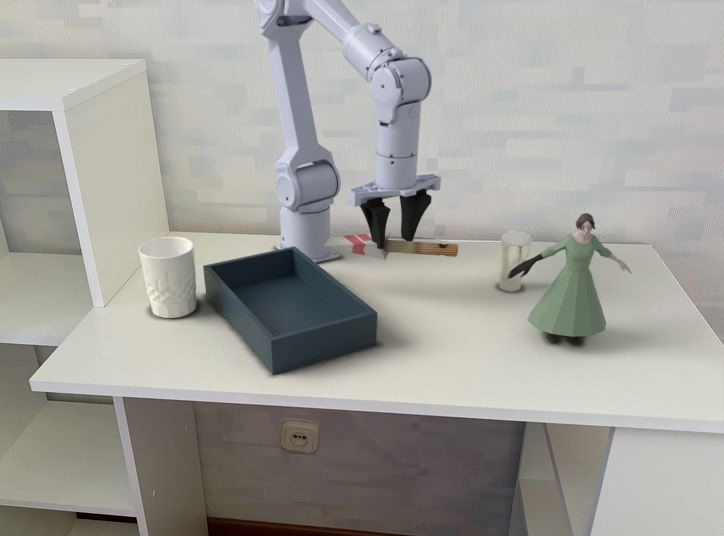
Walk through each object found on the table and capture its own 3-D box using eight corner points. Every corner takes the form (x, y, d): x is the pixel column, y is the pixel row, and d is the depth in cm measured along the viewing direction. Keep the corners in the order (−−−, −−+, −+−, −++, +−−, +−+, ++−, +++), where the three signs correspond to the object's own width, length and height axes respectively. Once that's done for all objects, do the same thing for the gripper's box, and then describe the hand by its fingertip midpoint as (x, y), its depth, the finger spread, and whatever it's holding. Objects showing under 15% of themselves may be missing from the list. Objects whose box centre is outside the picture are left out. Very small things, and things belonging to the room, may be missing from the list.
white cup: (137, 309, 107) (127, 248, 102) (178, 291, 112) (171, 232, 107) (169, 326, 102) (160, 262, 97) (211, 306, 107) (204, 245, 102)
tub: (205, 295, 111) (202, 265, 108) (295, 274, 116) (294, 245, 114) (272, 374, 91) (271, 340, 88) (376, 345, 97) (377, 312, 94)
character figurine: (500, 351, 95) (519, 224, 85) (494, 321, 102) (510, 201, 92) (624, 356, 93) (656, 228, 84) (608, 326, 100) (637, 203, 91)
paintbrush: (329, 227, 109) (459, 236, 102) (331, 242, 111) (459, 253, 104) (321, 238, 106) (454, 248, 99) (323, 254, 108) (454, 266, 101)
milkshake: (518, 298, 108) (527, 236, 103) (489, 286, 111) (496, 227, 106) (535, 289, 110) (545, 228, 105) (506, 278, 114) (514, 219, 109)
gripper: (367, 167, 92) (364, 263, 99) (457, 151, 98) (448, 243, 105) (340, 154, 98) (340, 245, 105) (427, 140, 103) (421, 227, 110)
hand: (392, 243), depth 105 cm, fingers closed on paintbrush, 4 cm apart
